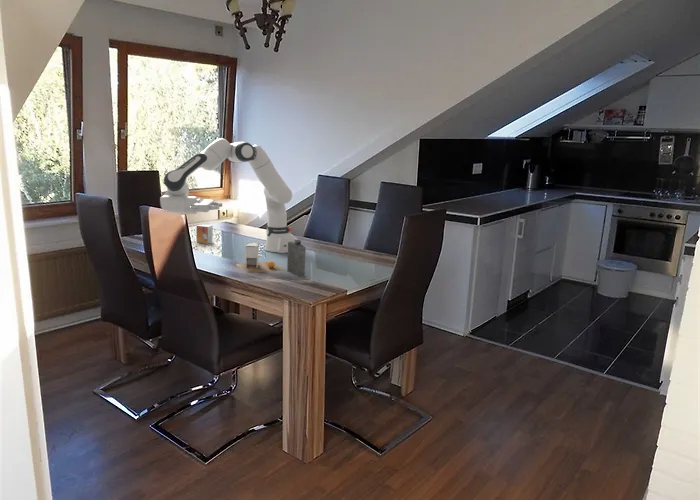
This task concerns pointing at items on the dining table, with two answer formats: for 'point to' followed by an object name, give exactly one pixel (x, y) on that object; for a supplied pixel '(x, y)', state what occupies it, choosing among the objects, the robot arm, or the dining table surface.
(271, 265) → the orange ball
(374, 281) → the dining table surface
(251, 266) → the tan flat board
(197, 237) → the small box
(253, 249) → the white carton
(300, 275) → the flask
